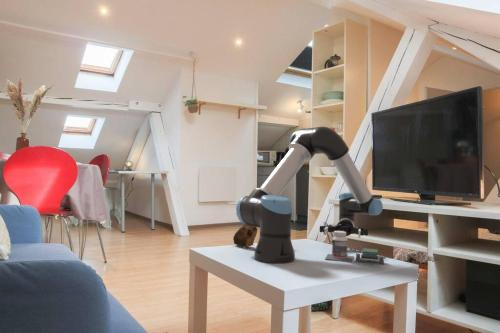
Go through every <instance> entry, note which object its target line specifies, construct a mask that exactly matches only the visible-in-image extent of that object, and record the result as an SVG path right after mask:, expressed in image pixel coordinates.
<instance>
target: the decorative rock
mask: <svg viewBox="0 0 500 333" xmlns="http://www.w3.org/2000/svg"><path fill="white" fill-rule="evenodd" d="M257 233H258V227H255V226H248V225H246V224H244V225H242V226H241V227H239V229H238V230H237V231H236V232H235V233H234V235H233V239H232V240H233V244H234V245H237V246H239V247H244V248H248V247H252V246H254V242H255V239H256V237H257Z"/></svg>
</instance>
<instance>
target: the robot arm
mask: <svg viewBox="0 0 500 333" xmlns="http://www.w3.org/2000/svg"><path fill="white" fill-rule="evenodd" d="M288 144H289V145H288V152H287V153H286V154H285V155H284V157H283V158H282V159H281V160H280V161H279V163H278V164H277V166H275V168H273V170H272V172H271V173H270V175H269V176H268V177H267V178H266V180H264V182H263V183H262V185H261V186H259V187H256V188H254V189H252V191H251V193H249V195H247V196H246V195H245V196H243V197H241V198H240V199H238V202H237V203H236V208H235V209H236V214H235V215H236V217H237V219H238V220H239V222H241V223H242V224H244V225H245V224H246V225H248V226H255V227H256V228H259V238H258V242H257V245H256V247H255V250H254V256H253V257H254V259H255V260H256V261H259V262H265V263H270V264H271V263H272V264H273V263H274V264H284V263H287V264H288V263H293V262H294V261H295V260H296V254H295V250H294V246H293V243H292V238H291V235H292V234H291V233H292V214H293V211H292V210H293V208H292V201H291V200H290V199H289V198H288V197H284V196H282V193H283V192H284V190H285V189H286V188H287V187H288V185H289V184H290V182H291V181H292V180H293V178H294V177H296V175H297V173H298V172H299V171H300V170H301V168H302V166H303V165H304V164H305V163H309V162H310V161H311V160H312V159H313V157H315V155H318V154H323V155H325V156H326V158H327V159H328V160H329V161H332V163H333V165H334V166H335V167H336V169H337V171H338V173H339V174H340V176H341V178H342V180H343V182H344V184H346V186H347V188H348V190H349V192H340V194H339V200H338V201H339V202H338V204H339V207H338V208H339V210H338V213H339V214H338V222H337V224H335V225H333V224H328V225H320V226H319V233H323V235H324V236H327V235H328V233H334V231H344V232H346V237H349V236H351V235H354V234H355V235H357V237H358V239H360V238H361V236H362V237H363V236H366V237H367V236H369V229H367V228H365V227H361V226H360V225H359V226H356V221H355V220H356V214H359V215H361V214H362V215H367V216H368V215H369V216H378V215H380V214H381V213H382V211H383V208H384V206H383V202H382V200H380V199H379V198H376V197H375V198H374V197H373V195H372V192H371V191H370V189H369V187H368V185H367V184H366V183H365V180H364V178H363V177H362V174H361V173H360V172H359V169H358V167H357V166H356V164H355V163H354V161H353V159H352V157H351V155H350V153H349V150H350V148H349V147H348V145H347V143H346V141H345V140H344V139H343V137H342V136H341V135H340V134H339V133H338V132H337V131H336V130H334V129H332V128H330V127H327V126H316V127H307V128H301V129H298V130H296V131H294V132H293V133H292V134H291V135H290V138H289V143H288Z"/></svg>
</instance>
